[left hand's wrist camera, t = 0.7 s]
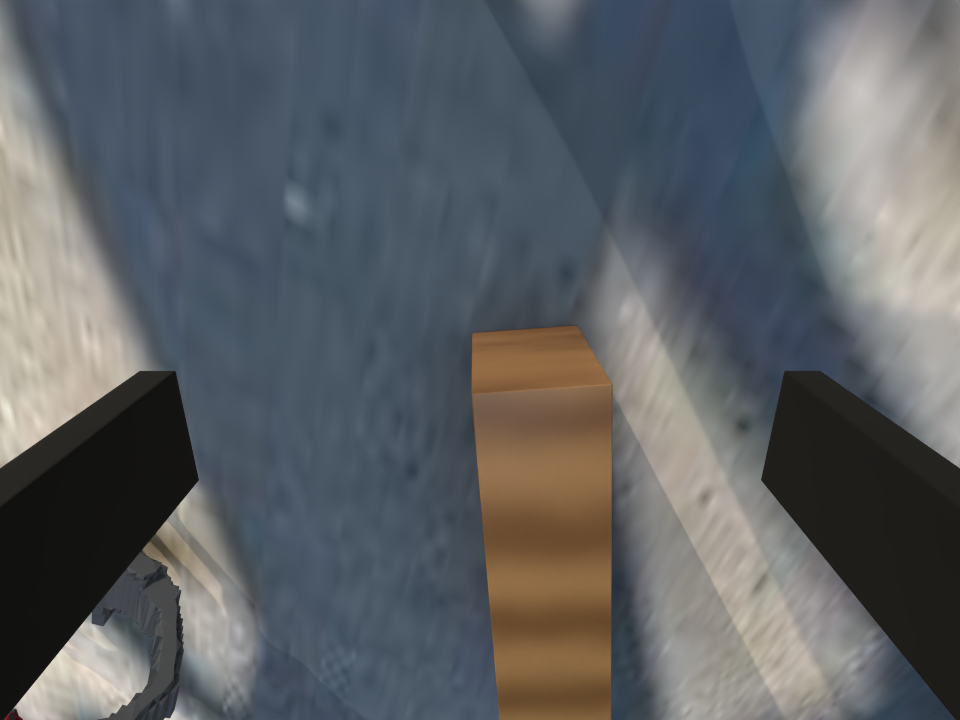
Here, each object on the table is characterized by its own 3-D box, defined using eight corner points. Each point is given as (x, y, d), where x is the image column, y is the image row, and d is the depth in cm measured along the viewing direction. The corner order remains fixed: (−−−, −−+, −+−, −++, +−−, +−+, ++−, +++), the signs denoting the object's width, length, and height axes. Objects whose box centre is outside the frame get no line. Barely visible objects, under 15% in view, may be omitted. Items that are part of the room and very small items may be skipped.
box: (472, 332, 40) (471, 393, 30) (577, 324, 40) (612, 383, 30) (499, 655, 50) (505, 784, 40) (583, 650, 50) (610, 777, 40)
